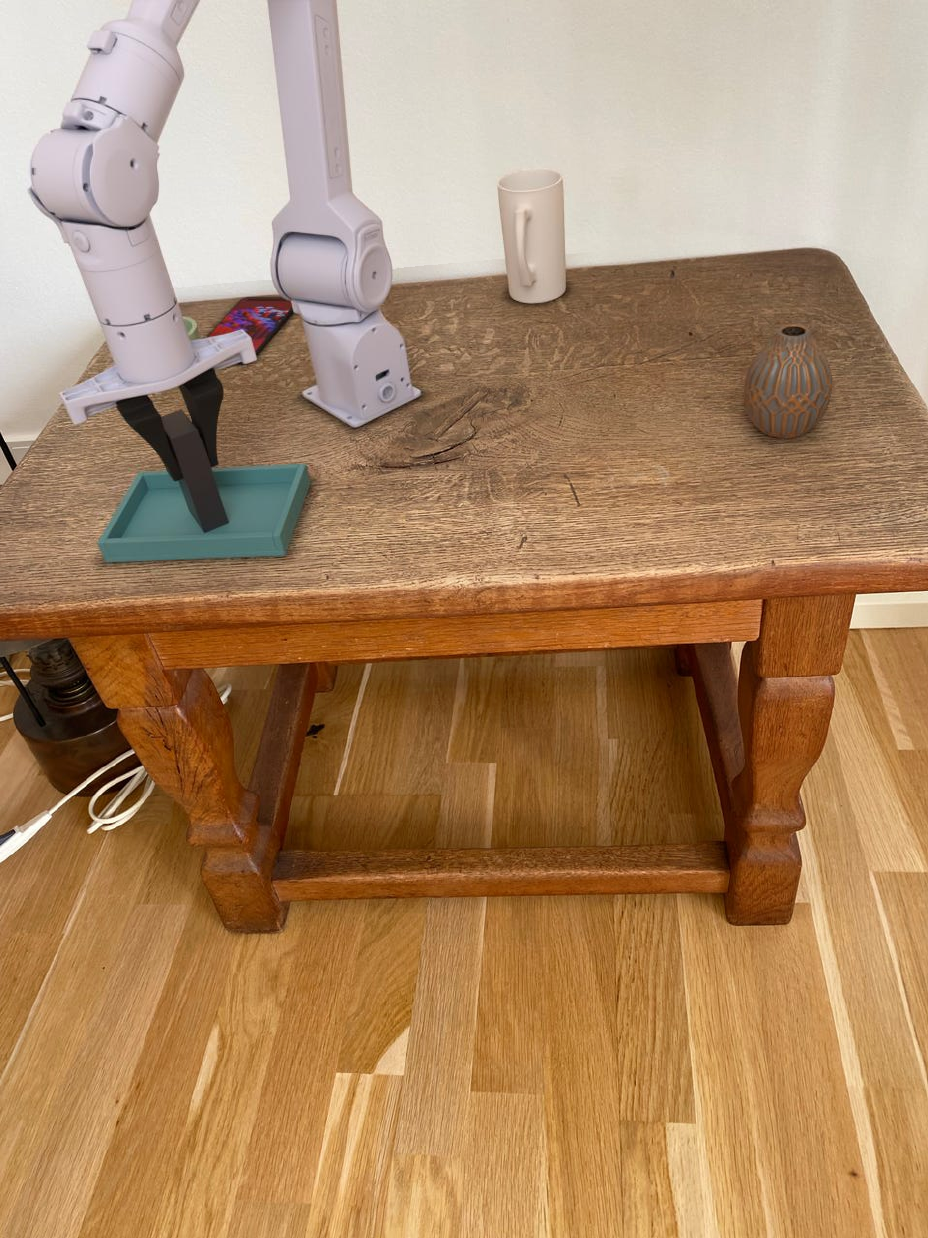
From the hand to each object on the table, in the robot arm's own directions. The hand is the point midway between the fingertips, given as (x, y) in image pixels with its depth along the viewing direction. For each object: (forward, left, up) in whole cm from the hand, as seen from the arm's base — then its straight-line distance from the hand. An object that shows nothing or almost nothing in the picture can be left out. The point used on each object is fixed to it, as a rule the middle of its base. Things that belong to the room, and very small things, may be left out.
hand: (193, 468), depth 81 cm
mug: (+10, -46, -6) cm, 47 cm away
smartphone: (+30, -21, -6) cm, 37 cm away
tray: (0, 0, -5) cm, 5 cm away
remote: (0, 0, -5) cm, 5 cm away
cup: (+29, -11, -5) cm, 31 cm away
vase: (-26, -42, -6) cm, 49 cm away
